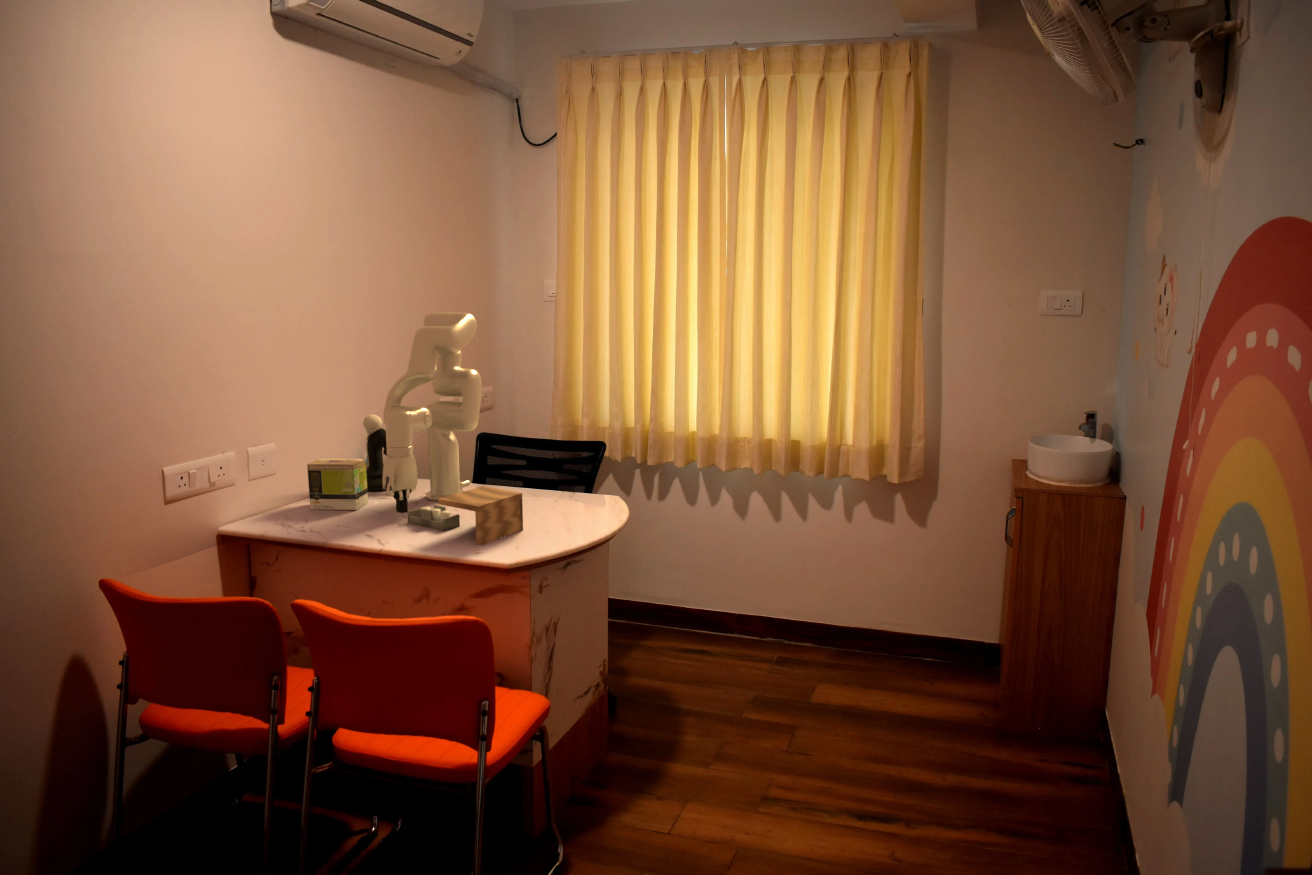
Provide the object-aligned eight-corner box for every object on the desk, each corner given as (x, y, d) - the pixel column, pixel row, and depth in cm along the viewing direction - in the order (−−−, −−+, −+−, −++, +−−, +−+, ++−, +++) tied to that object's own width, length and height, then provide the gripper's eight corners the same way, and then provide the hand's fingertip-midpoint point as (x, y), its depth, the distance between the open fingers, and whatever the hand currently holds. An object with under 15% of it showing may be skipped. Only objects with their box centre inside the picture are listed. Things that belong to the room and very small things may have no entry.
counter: (483, 522, 270) (482, 486, 268) (523, 530, 262) (522, 492, 260) (439, 537, 255) (438, 498, 253) (479, 545, 247) (478, 506, 245)
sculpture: (374, 480, 323) (370, 410, 318) (430, 486, 314) (427, 414, 309) (344, 489, 309) (340, 416, 304) (402, 496, 300) (399, 421, 295)
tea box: (369, 503, 292) (366, 457, 289) (355, 511, 282) (353, 464, 279) (323, 501, 293) (321, 456, 290) (309, 509, 283) (306, 463, 280)
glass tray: (422, 518, 274) (422, 502, 273) (459, 526, 266) (459, 509, 265) (407, 523, 269) (407, 506, 268) (444, 530, 261) (444, 514, 260)
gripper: (410, 446, 278) (412, 505, 281) (371, 454, 266) (373, 515, 269) (427, 449, 274) (429, 508, 277) (389, 456, 262) (391, 519, 265)
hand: (402, 511), depth 273 cm, fingers closed
